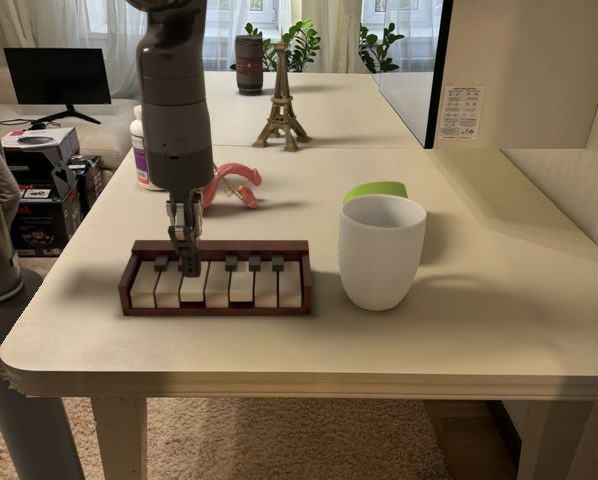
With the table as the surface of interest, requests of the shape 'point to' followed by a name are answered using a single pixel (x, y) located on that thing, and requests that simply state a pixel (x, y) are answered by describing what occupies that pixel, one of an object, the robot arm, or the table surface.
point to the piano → (218, 278)
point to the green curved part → (377, 190)
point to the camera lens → (249, 64)
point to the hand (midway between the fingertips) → (192, 274)
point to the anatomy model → (245, 192)
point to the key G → (242, 283)
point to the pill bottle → (140, 151)
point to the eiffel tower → (283, 100)
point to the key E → (195, 285)
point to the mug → (379, 248)
